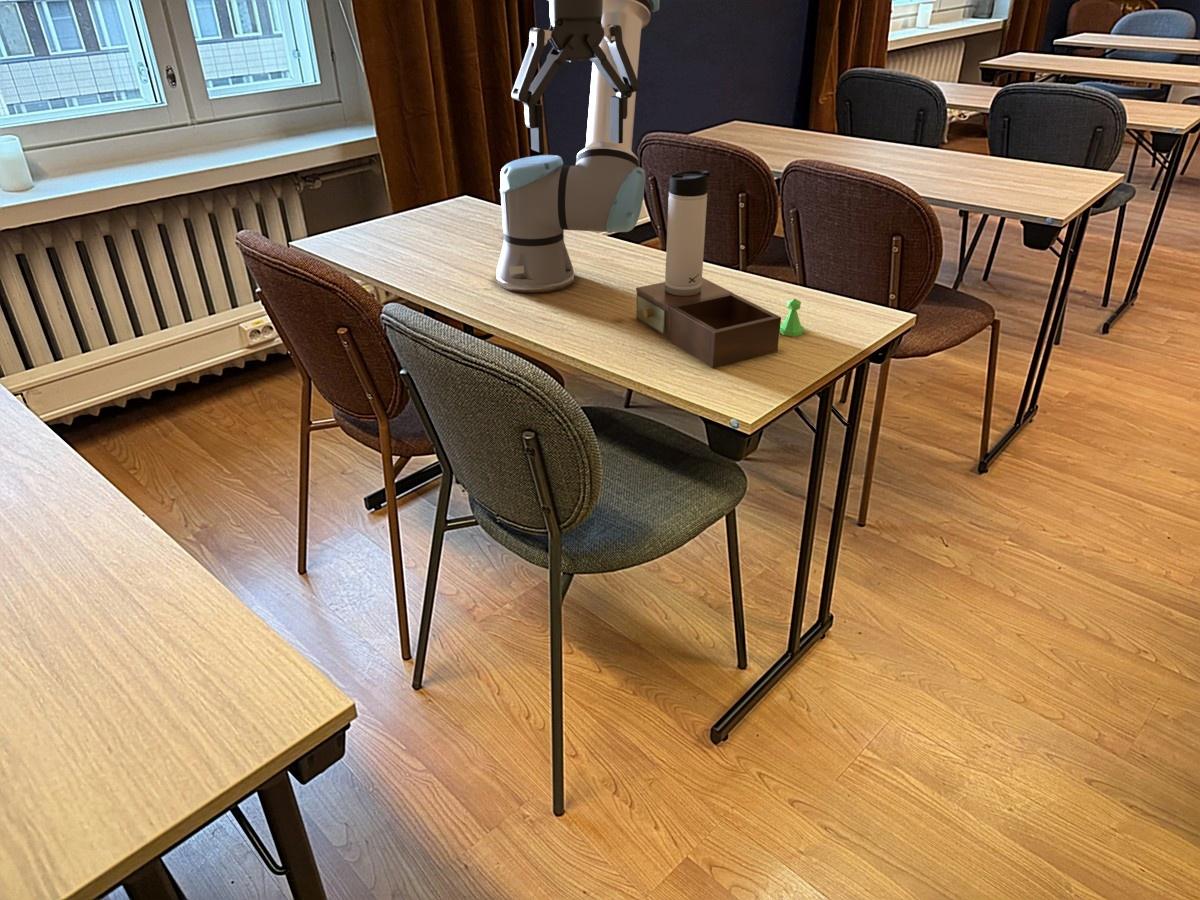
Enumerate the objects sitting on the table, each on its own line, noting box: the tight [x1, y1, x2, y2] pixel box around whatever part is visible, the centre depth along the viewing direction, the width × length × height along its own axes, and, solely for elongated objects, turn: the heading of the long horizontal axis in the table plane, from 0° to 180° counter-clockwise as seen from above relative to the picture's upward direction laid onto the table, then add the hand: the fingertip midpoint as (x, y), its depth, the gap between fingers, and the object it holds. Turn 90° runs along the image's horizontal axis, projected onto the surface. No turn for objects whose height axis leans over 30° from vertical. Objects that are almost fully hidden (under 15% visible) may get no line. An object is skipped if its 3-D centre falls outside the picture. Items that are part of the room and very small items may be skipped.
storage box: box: [635, 276, 782, 369], centre depth 143 cm, size 23×14×6 cm, turn 29°
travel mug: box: [664, 169, 712, 296], centre depth 141 cm, size 6×7×20 cm
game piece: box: [779, 298, 805, 337], centre depth 145 cm, size 4×4×6 cm
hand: (577, 146), depth 130 cm, fingers open, 13 cm apart
